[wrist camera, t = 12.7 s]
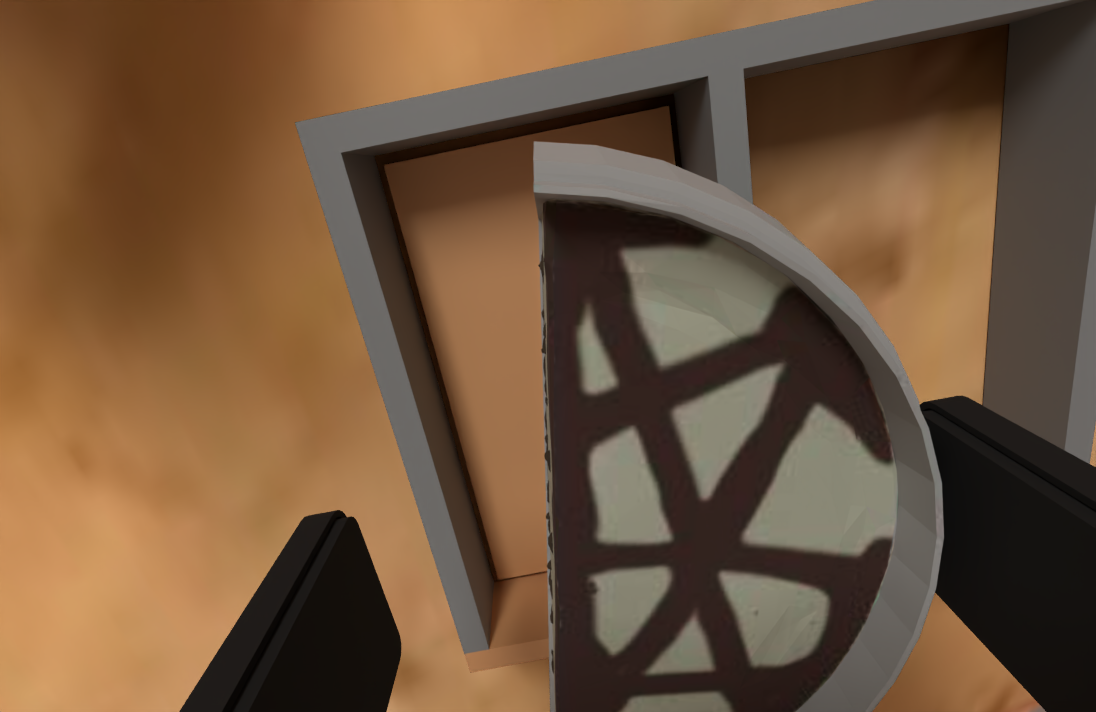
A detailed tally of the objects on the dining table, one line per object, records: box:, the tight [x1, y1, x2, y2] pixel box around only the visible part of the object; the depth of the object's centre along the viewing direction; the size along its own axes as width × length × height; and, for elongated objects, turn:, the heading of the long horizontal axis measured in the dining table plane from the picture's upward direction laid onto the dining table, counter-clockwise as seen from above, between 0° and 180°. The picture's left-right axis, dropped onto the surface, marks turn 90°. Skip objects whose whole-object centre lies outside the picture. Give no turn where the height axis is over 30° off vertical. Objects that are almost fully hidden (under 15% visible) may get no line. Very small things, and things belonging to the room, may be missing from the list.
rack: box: [295, 0, 1096, 673], centre depth 16 cm, size 29×17×3 cm, turn 101°
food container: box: [533, 141, 944, 712], centre depth 13 cm, size 12×6×10 cm, turn 1°
